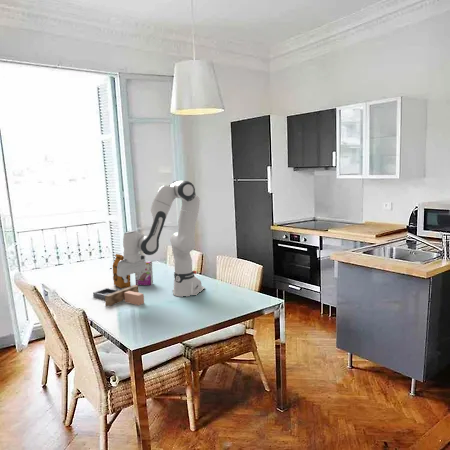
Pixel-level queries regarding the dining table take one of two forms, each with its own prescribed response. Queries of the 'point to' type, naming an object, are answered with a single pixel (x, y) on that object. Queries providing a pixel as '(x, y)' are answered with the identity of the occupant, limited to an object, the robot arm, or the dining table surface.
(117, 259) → the coffee package
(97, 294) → the tray
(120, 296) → the walnut board
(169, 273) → the dining table surface
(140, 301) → the block
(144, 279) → the candy bar box
